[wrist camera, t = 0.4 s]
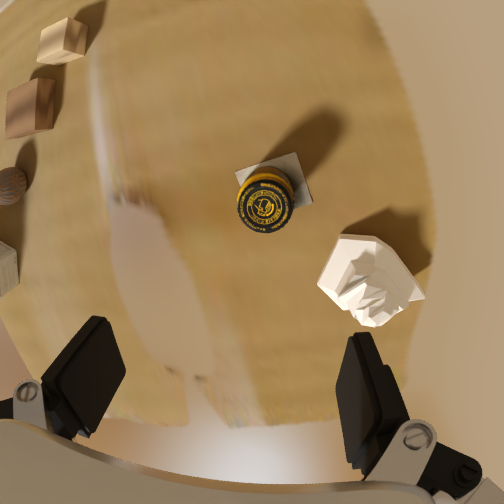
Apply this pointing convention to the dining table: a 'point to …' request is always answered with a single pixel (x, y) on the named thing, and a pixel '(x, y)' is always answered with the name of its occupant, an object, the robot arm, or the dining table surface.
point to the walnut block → (30, 108)
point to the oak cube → (62, 42)
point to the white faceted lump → (368, 279)
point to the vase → (12, 185)
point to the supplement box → (8, 269)
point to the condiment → (271, 193)
